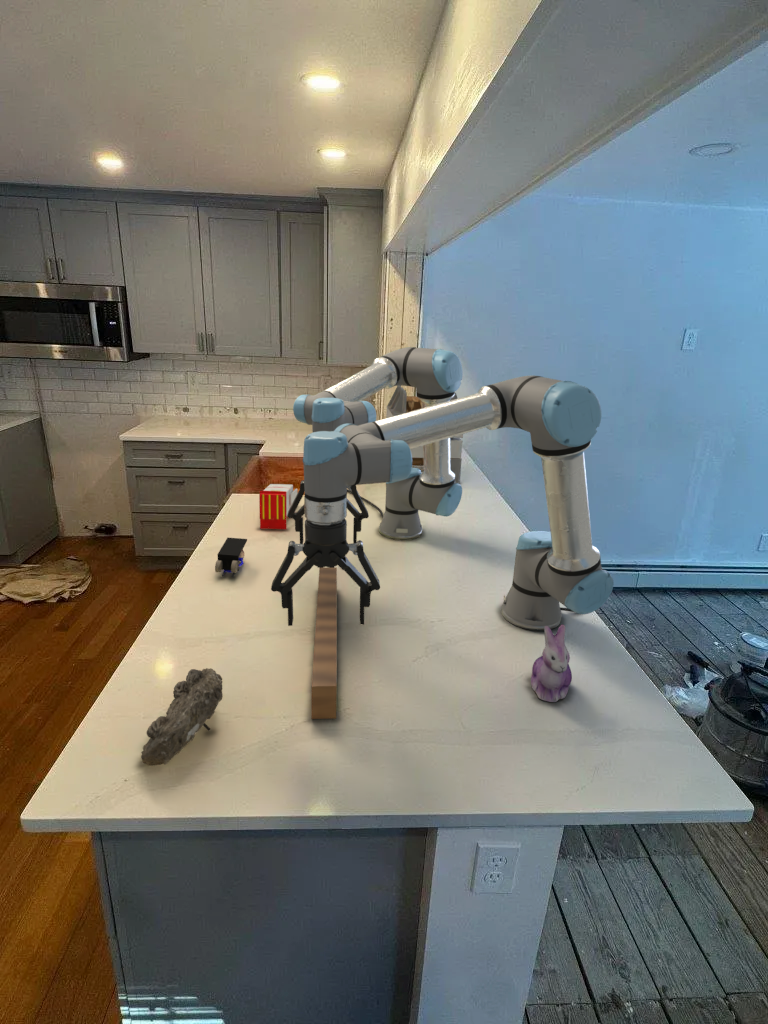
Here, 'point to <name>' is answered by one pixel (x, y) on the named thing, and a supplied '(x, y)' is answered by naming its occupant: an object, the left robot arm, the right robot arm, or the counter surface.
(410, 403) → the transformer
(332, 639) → the bar
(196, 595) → the counter surface
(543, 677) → the figurine
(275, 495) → the toy
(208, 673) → the fossil
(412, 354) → the left robot arm
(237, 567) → the black toy car
